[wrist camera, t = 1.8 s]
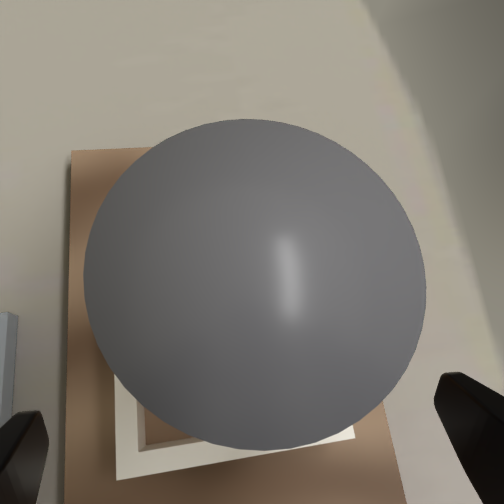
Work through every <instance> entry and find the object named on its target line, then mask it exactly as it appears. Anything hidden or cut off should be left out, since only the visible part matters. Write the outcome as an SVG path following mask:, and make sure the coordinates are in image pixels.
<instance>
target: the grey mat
mask: <svg viewBox="0 0 504 504" xmlns="http://www.w3.org/2000/svg"><path fill="white" fill-rule="evenodd" d="M17 325H18V316H16V315H14V314H12V313H9V312H4V313H0V427H1V426H2V425H4V424H5V423H6V422H7V421H8V420H9V419H10V418H11V417H12V403H13V387H14V372H15V356H16V341H17Z"/></svg>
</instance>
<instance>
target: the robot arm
mask: <svg viewBox="0 0 504 504" xmlns="http://www.w3.org/2000/svg"><path fill="white" fill-rule="evenodd" d="M434 405H435V409H436V411H437V413H438V415H439V417H440V420H441V422H442V424H443V426H444V428H445V430H446V432H447V435H448V437H449V439H450V441H451V443H452V445H453V448H454V450H455V452H456V454H457V456H458V458H459V460H460V462H461V464H462V466H463V468H464V470H465V472H466V474H467V476H468V478H469V480H470V482H471V483H472V485H473V487H474V489H475V490H476V492H477V494H478V495H479V497H480V499H481V501H482V502H483V504H504V396H502V395H500V394H499V393H497V392H495V391H493V390H492V389H490V388H488V387H486V386H485V385H483V384H481V383H479V382H477V381H476V380H474V379H472V378H470V377H469V376H467V375H465V374H463V373H461V372H449V373H444V374H442V375H441V377H440V380H439V383H438V386H437V389H436V393H435V396H434ZM48 446H49V438H48V434H47V431H46V427H45V424H44V420H43V417H42V414H41V412H40V411H37V410H34V411H23V412H18V413H16V414H15V415H14V416H12V417H11V418H10V419H9V420H8V421H7V422H6V423H5V424H4V425H2V426H1V427H0V504H36V500H37V496H38V491H39V487H40V483H41V478H42V474H43V470H44V465H45V461H46V456H47V452H48Z"/></svg>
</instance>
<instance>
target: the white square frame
mask: <svg viewBox="0 0 504 504" xmlns="http://www.w3.org/2000/svg"><path fill="white" fill-rule="evenodd" d="M114 380H115V435H116V481H117V480H123V479H128V478H134V477H140V476H145V475H151V474H156V473H162V472H168V471H173V470H179V469H185V468H190V467H196V466H201V465H207V464H213V463H218V462H224V461H230V460H235V459H241V458H246V457H252V456H258V455H263V454H269V453H274V452H280V451H286V450H291V449H297V448H303V447H308V446H314V445H319V444H325V443H331V442H336V441H342V440H348V439H353V438H355V434H354V429H353V425H351V426H350V427H348V428H346V429H345V430H343V431H341V432H340V433H338V434H335V435H333V436H330V437H328V438H326V439H323V440H321V441H318V442H316V443H312V444H308V445H304V446H299V447H295V448H291V449H281V450H270V451H258V450H241V449H235V448H230V447H225V446H220V445H215V444H211V443H209V442H206V441H203V440H201V439H198V438H195V437H193V438H187V439H181V440H175V441H169V442H163V443H157V444H151V445H146V440H145V416H144V407H143V406H142V405H141V404H140V403H139V402H138V401H137V400H136V399H135V398H134V397H133V396H132V395H131V394H130V393H129V392H128V391H127V390H126V389H125V387H124V386H123V385H122V383H121V382H120V381H119V379H118V378H117V377H116V375H115V374H114Z"/></svg>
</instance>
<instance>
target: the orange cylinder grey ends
mask: <svg viewBox="0 0 504 504" xmlns="http://www.w3.org/2000/svg"><path fill="white" fill-rule="evenodd" d="M83 282H84V299H85V304H86V309H87V314H88V319H89V323H90V325H91V328H92V331H93V334H94V337H95V339H96V342H97V345H98V347H99V349H100V350H101V352H102V354H103V356H104V358H105V360H106V362H107V364H108V365H109V367H110V369H111V370H112V371H113V373H114V374H115V375H116V377H117V378H118V379H119V381H120V382H121V383H122V385H123V386H124V387H125V389H126V390H127V391H128V392H129V393H130V394H131V395H132V396H133V397H134V398H135V399H136V400H137V401H138V402H139V403H140V404H141V405H142V406H143V407H145V408H146V409H147V410H149V411H150V412H152V413H153V414H154V415H156V416H157V417H158V418H160V419H161V420H162V421H164V422H165V423H167V424H169V425H171V426H172V427H174V428H176V429H178V430H180V431H182V432H184V433H185V434H187V435H190V436H192V437H195V438H198V439H201V440H203V441H206V442H209V443H211V444H215V445H220V446H225V447H230V448H235V449H241V450H258V451H270V450H281V449H291V448H295V447H299V446H304V445H308V444H312V443H316V442H318V441H321V440H323V439H326V438H328V437H330V436H333V435H335V434H338V433H340V432H341V431H343V430H345V429H346V428H348V427H350V426H351V425H353V424H355V423H357V422H358V421H360V420H361V419H362V418H363V417H365V416H366V415H367V414H368V413H370V412H371V411H372V410H373V409H374V408H376V407H377V406H378V405H379V404H380V403H381V402H382V401H383V399H384V398H385V397H386V396H387V395H388V394H389V393H390V392H391V391H392V390H393V388H394V387H395V385H396V384H397V382H398V381H399V379H400V378H401V376H402V375H403V373H404V372H405V370H406V369H407V367H408V364H409V362H410V360H411V358H412V356H413V354H414V352H415V350H416V347H417V343H418V340H419V337H420V334H421V331H422V326H423V320H424V314H425V308H426V279H425V269H424V263H423V259H422V254H421V250H420V246H419V243H418V240H417V237H416V235H415V232H414V229H413V227H412V225H411V223H410V221H409V219H408V217H407V215H406V213H405V211H404V209H403V207H402V206H401V204H400V203H399V201H398V200H397V198H396V197H395V195H394V193H393V192H392V191H391V190H390V188H389V187H388V186H387V185H386V184H385V182H384V181H383V180H382V179H381V178H380V177H379V176H378V175H377V174H376V173H375V172H374V171H373V170H372V169H371V168H370V167H369V166H368V165H367V164H366V163H365V162H363V161H362V160H361V159H359V158H358V157H357V156H356V155H354V154H353V153H352V152H350V151H349V150H347V149H346V148H344V147H342V146H341V145H339V144H338V143H336V142H334V141H332V140H330V139H328V138H326V137H324V136H322V135H320V134H318V133H315V132H312V131H309V130H307V129H304V128H301V127H298V126H294V125H290V124H286V123H282V122H275V121H268V120H255V119H238V120H226V121H219V122H214V123H209V124H204V125H201V126H198V127H195V128H191V129H188V130H185V131H183V132H181V133H179V134H176V135H174V136H172V137H170V138H168V139H166V140H164V141H163V142H161V143H159V144H158V145H156V146H154V147H153V148H151V149H150V150H148V151H147V152H146V153H145V154H143V155H142V156H141V157H140V158H138V159H137V160H136V161H135V162H134V163H133V164H132V165H131V166H130V167H129V168H128V169H127V170H126V171H125V172H124V173H123V174H122V175H121V176H120V177H119V179H118V180H117V181H116V183H115V184H114V185H113V187H112V188H111V189H110V191H109V192H108V194H107V196H106V197H105V199H104V201H103V203H102V204H101V206H100V208H99V210H98V212H97V215H96V217H95V220H94V222H93V225H92V227H91V230H90V234H89V238H88V242H87V246H86V251H85V259H84V270H83Z"/></svg>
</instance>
